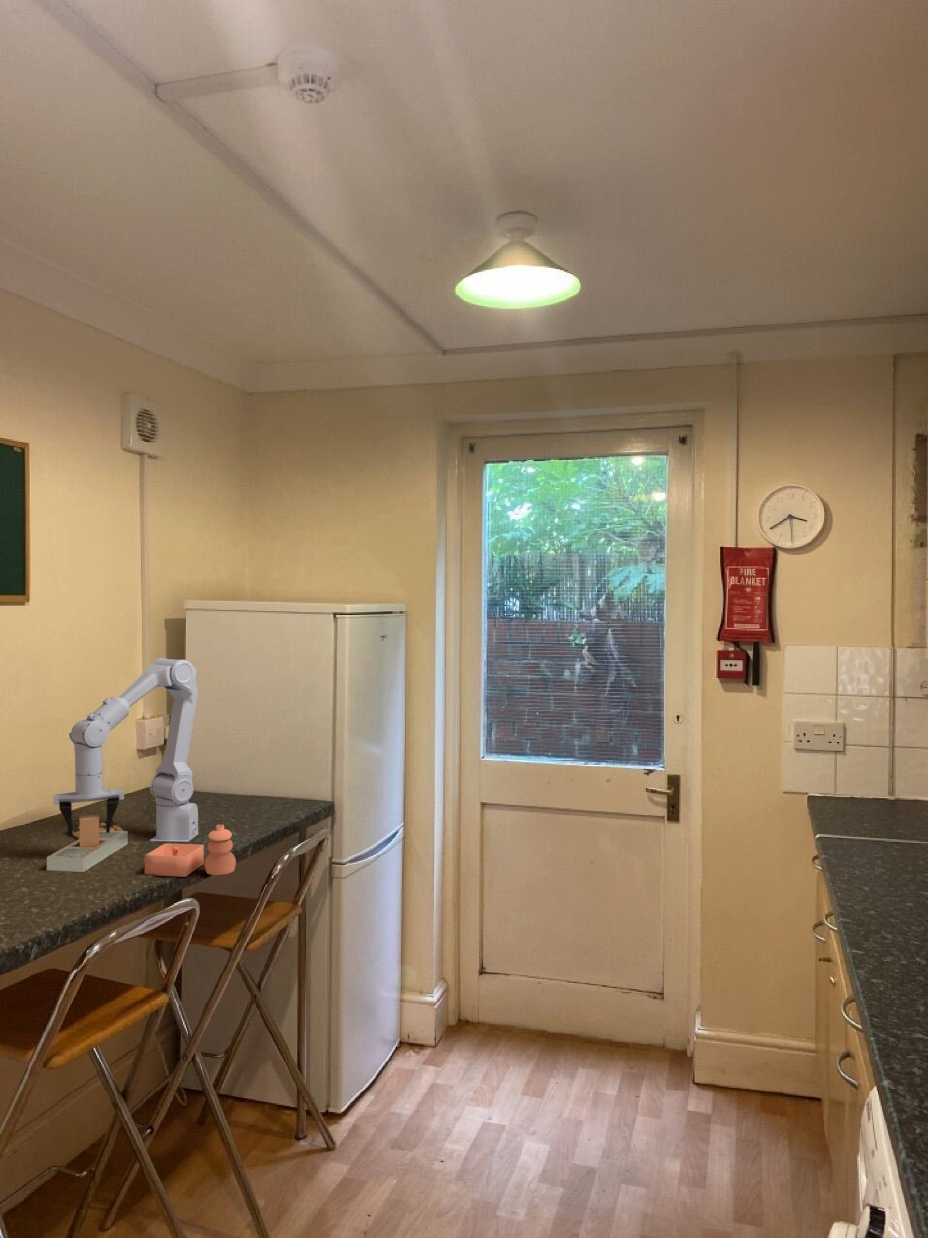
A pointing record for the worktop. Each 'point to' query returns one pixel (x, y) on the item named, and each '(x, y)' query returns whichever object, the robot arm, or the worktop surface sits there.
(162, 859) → the pottery
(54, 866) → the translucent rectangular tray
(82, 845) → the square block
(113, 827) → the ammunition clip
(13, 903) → the worktop surface
